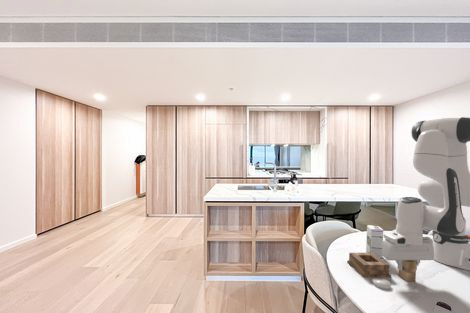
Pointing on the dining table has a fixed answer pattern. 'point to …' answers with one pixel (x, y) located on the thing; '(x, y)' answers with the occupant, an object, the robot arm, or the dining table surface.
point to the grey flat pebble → (381, 283)
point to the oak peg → (408, 270)
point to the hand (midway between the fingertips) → (407, 269)
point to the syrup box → (374, 240)
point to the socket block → (369, 265)
